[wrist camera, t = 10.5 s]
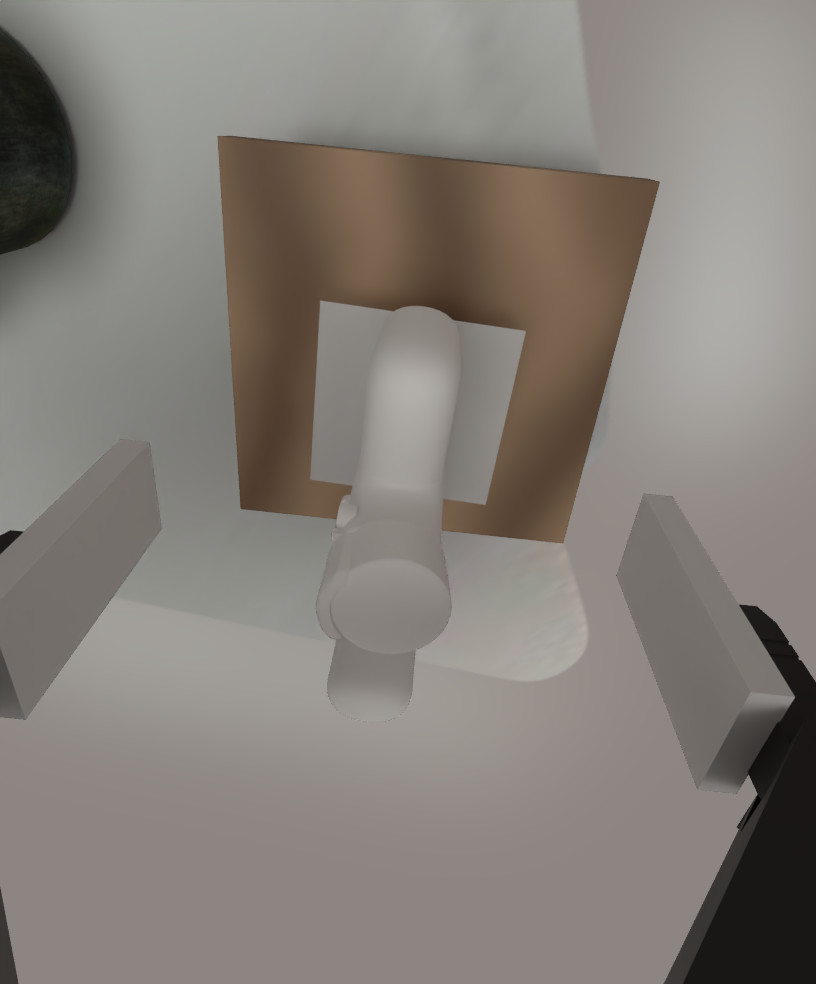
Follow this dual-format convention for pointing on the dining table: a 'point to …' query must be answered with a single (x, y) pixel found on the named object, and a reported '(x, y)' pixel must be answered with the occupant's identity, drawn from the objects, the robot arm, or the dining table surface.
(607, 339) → the walnut stool
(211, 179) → the dining table surface
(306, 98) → the dining table surface
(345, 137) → the dining table surface
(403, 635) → the figurine
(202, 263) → the dining table surface
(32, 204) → the mug
